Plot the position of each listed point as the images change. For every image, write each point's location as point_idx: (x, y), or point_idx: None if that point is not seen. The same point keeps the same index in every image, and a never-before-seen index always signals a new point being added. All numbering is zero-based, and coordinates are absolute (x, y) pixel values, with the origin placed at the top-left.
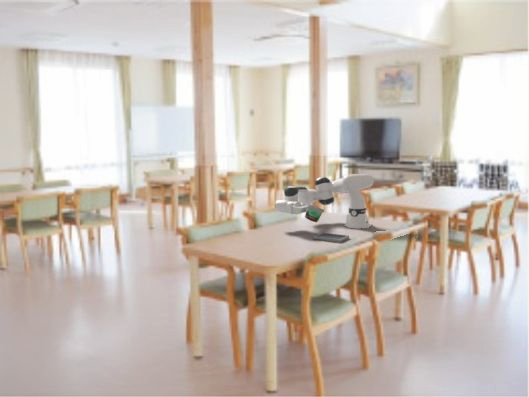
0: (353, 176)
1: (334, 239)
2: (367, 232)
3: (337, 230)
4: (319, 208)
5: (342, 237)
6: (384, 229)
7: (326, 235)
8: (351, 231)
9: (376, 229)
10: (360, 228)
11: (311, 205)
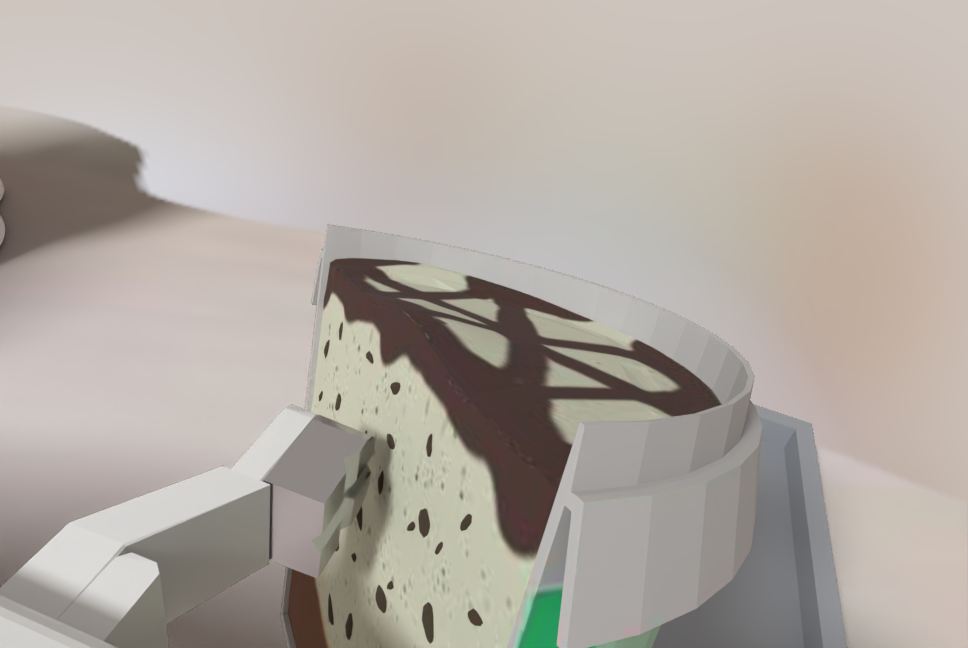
0: None
1: (817, 473)
2: (214, 222)
3: (40, 433)
4: (426, 301)
5: None
6: (82, 130)
7: None
8: (145, 311)
9: (68, 160)
10: (3, 229)
11: (747, 403)
